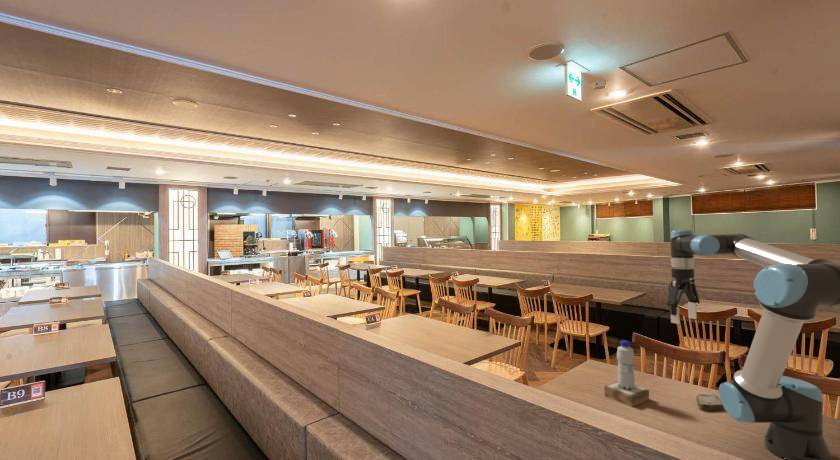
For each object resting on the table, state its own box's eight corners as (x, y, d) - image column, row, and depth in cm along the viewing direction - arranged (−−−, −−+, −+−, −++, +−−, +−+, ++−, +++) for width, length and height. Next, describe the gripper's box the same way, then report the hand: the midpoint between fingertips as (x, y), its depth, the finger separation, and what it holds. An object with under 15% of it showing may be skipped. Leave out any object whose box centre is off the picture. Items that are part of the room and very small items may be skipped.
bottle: (613, 386, 162) (612, 339, 162) (624, 383, 165) (623, 337, 165) (628, 392, 156) (627, 344, 156) (638, 388, 159) (637, 341, 159)
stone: (695, 396, 161) (695, 389, 161) (720, 400, 157) (719, 393, 157) (699, 411, 148) (698, 403, 148) (726, 416, 144) (725, 408, 144)
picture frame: (649, 399, 158) (648, 389, 158) (631, 406, 152) (631, 396, 152) (621, 389, 169) (621, 379, 169) (604, 395, 163) (604, 385, 163)
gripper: (687, 265, 162) (689, 314, 162) (655, 269, 149) (657, 323, 149) (708, 266, 155) (709, 318, 155) (676, 271, 143) (678, 327, 143)
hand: (684, 320), depth 152 cm, fingers open, 13 cm apart
